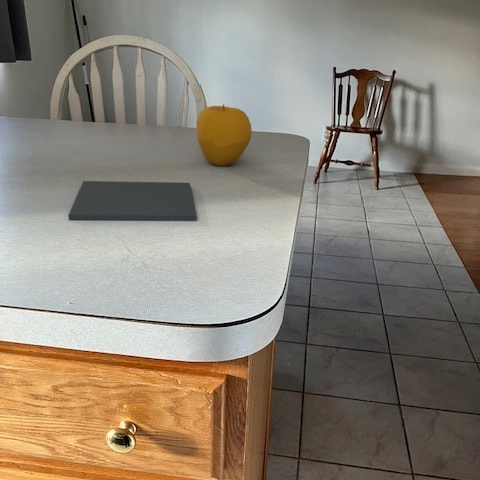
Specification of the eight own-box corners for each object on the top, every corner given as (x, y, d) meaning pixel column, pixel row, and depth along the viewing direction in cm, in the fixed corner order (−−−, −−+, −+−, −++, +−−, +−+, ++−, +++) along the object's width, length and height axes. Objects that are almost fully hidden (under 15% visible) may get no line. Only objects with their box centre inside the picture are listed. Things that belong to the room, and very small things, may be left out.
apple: (259, 163, 88) (263, 105, 83) (229, 173, 81) (232, 110, 77) (216, 155, 91) (217, 99, 87) (184, 163, 85) (185, 103, 81)
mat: (68, 220, 59) (68, 214, 59) (83, 185, 71) (83, 180, 71) (196, 220, 61) (196, 215, 61) (189, 186, 73) (189, 182, 73)
